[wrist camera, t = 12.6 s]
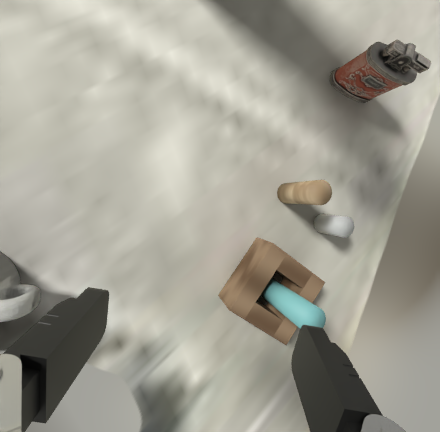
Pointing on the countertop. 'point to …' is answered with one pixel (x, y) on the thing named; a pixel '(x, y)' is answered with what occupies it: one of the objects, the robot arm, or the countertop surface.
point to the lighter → (379, 70)
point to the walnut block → (256, 282)
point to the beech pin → (305, 192)
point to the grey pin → (334, 225)
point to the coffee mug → (15, 292)
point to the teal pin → (293, 305)
